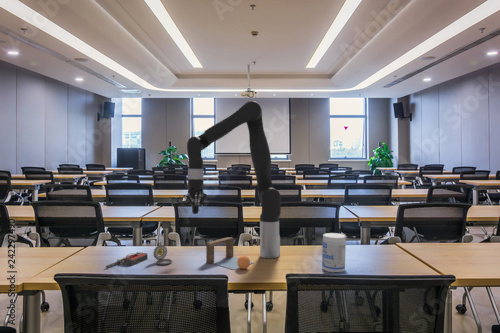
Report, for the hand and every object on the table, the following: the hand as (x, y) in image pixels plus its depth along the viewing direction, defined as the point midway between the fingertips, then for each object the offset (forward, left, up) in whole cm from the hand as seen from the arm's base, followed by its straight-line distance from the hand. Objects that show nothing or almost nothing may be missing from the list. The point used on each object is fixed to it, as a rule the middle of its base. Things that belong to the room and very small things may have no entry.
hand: (195, 213), depth 165 cm
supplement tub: (-25, +61, -21) cm, 69 cm away
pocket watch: (+17, -2, -21) cm, 27 cm away
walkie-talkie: (+28, -13, -21) cm, 37 cm away
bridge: (-3, +14, -21) cm, 25 cm away
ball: (-1, +31, -18) cm, 36 cm away
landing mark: (-3, +23, -21) cm, 31 cm away
